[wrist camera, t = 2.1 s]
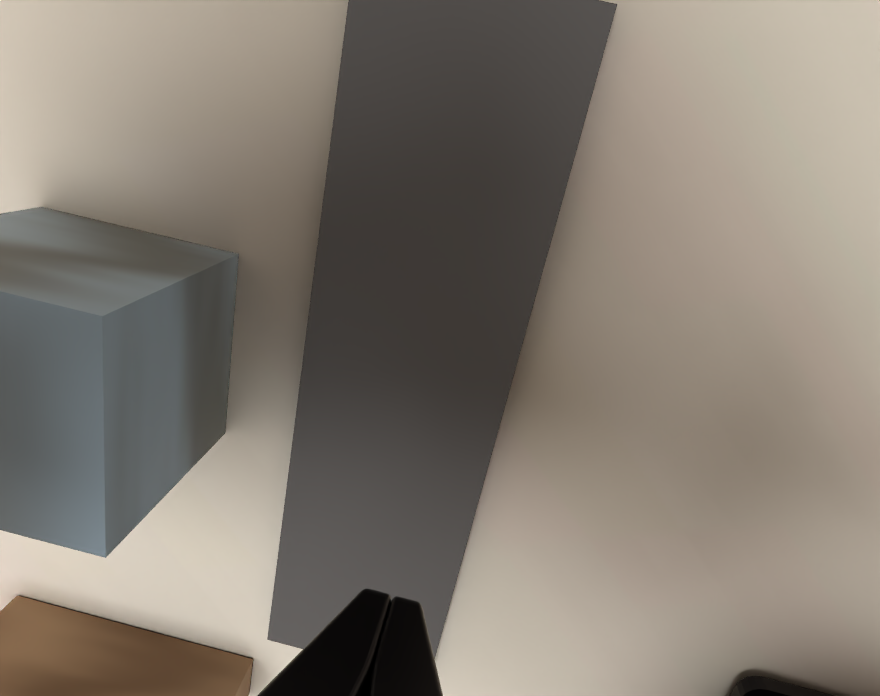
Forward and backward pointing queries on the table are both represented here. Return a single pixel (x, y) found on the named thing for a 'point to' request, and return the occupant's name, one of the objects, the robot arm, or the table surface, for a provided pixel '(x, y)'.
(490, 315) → the grey flat board
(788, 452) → the table surface
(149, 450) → the cube
